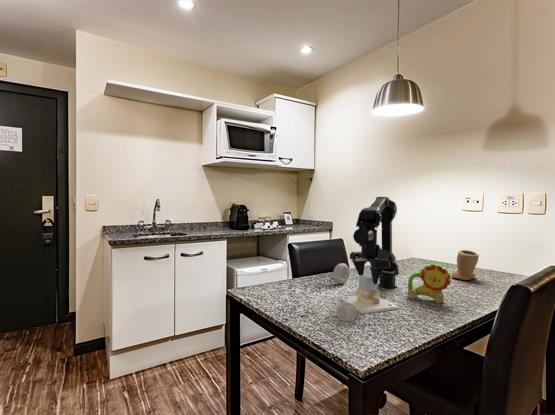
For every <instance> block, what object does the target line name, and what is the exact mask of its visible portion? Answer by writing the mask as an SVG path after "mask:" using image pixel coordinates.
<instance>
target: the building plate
mask: <svg viewBox="0 0 555 415" xmlns="http://www.w3.org/2000/svg"><path fill="white" fill-rule="evenodd" d="M338 298H339V299H338V300H339V301H341V303H344V302H346V303H351V304H353V305H354V306H355V307H356V310H357V312H358V313H360V314H367V313H368V314H370V313H378V312H384V311H394V310H395V311H396V310H399V305H396V304H395V303H392V302H391V301H388V300H386V299H384V298H381V296H379V304H371V305H365V304H363V303H361V302H360V301H358V300H357V295H349V296H348V295H347V296H345V295H344V296H340V297H338Z"/></svg>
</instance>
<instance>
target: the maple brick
mask: <svg viewBox="0 0 555 415" xmlns="http://www.w3.org/2000/svg"><path fill="white" fill-rule="evenodd" d="M356 290H357V291H356V294H357V295H356V296H357V300H358V301H360V302H361V303H363V304H365V305H371V304H379V297H380V293H381V292H380V290H379V289H377V290H376V291H364V290H362V289H360V288H359V287H357V289H356Z"/></svg>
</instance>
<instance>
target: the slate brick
mask: <svg viewBox="0 0 555 415" xmlns="http://www.w3.org/2000/svg"><path fill="white" fill-rule="evenodd" d="M378 284H379V283H378V282H377V284H374V283H373V279H372V275H371V274H363V275H358V288H360V289H362V290H364V291H376V290H378Z"/></svg>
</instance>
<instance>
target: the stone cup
mask: <svg viewBox="0 0 555 415" xmlns="http://www.w3.org/2000/svg"><path fill="white" fill-rule="evenodd" d="M479 257H480V256H479V253H477V252H475V251H472V250H470V249H469V250H468V249H461V250H459V251H458V253H457V256H456V264H457V270H456V271H455V272H452V273H450V275H451V277H452V278H455V279H459V280H464V281H469V280H472V279H475V277H476V276H477V273H475V272H474V270H475V268H476V266H477V264H478V262H479Z"/></svg>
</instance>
